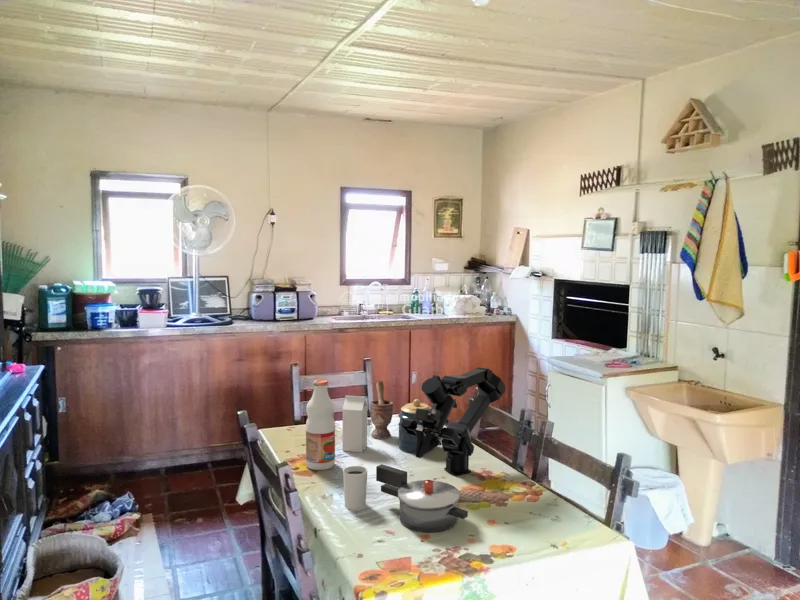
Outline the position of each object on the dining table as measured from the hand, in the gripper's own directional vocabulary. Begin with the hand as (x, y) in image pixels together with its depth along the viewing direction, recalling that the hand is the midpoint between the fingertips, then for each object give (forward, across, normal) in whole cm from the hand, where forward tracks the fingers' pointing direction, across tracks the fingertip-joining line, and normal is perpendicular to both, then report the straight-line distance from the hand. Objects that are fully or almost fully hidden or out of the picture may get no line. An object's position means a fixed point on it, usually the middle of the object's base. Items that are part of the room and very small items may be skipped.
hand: (417, 457), depth 173 cm
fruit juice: (+10, -37, +5) cm, 39 cm away
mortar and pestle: (-16, -44, +32) cm, 56 cm away
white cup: (+20, -8, -6) cm, 23 cm away
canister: (-14, -24, +30) cm, 41 cm away
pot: (+16, +11, -2) cm, 20 cm away
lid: (+12, +8, -6) cm, 16 cm away
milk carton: (-4, -40, +19) cm, 44 cm away
